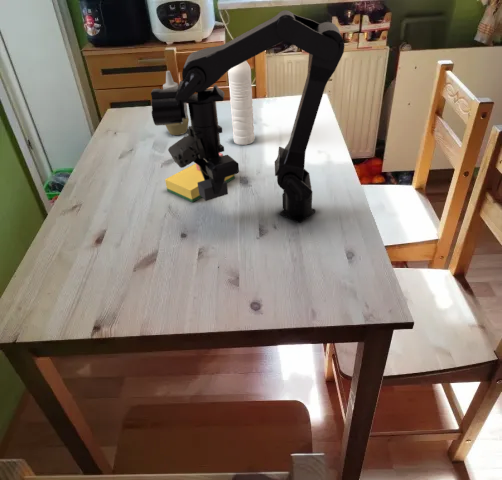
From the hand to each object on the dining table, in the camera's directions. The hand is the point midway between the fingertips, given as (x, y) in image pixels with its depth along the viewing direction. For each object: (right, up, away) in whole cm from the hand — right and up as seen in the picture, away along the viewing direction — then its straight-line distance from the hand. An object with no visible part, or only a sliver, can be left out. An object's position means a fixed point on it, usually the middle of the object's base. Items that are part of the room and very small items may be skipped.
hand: (213, 190), depth 109 cm
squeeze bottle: (-15, +32, +43) cm, 56 cm away
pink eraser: (-2, +11, +16) cm, 20 cm away
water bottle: (+7, +27, +36) cm, 45 cm away
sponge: (-5, +7, +17) cm, 19 cm away
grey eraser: (0, -1, +1) cm, 1 cm away
